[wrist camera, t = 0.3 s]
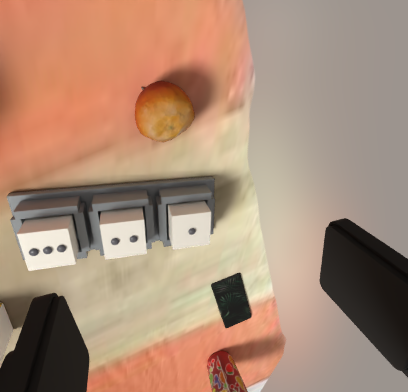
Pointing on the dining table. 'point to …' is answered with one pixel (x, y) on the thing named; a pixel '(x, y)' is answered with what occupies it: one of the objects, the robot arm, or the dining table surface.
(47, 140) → the dining table surface
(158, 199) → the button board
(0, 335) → the medicine bottle
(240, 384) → the smoothie
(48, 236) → the three dot tile
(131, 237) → the two dot tile
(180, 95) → the fruit
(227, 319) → the smartphone
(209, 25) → the dining table surface
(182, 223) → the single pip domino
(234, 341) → the dining table surface
